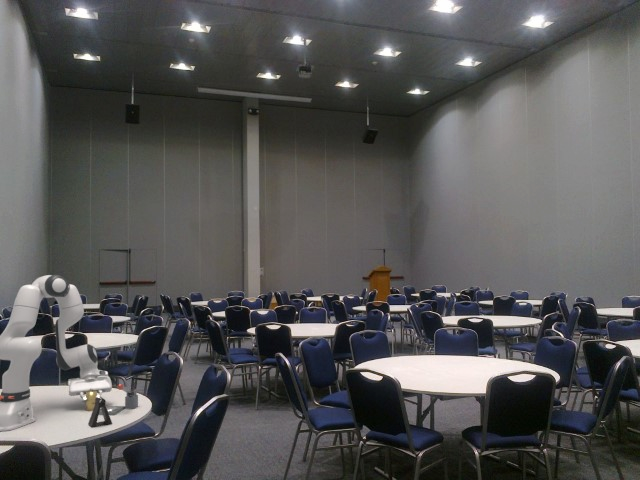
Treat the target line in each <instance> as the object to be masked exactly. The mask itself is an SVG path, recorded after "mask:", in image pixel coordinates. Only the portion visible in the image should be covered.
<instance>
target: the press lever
mask: <svg viewBox="0 0 640 480" xmlns="http://www.w3.org/2000/svg"><path fill="white" fill-rule="evenodd" d="M117 389H118V390H121V391H123V392H125V393H126V394H127V393H128V394H129V395H134V390H131V389H130V390H129V388H128V387H126V386H124V384H122V383H119V384H118V385H117Z"/></svg>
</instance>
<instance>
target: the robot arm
mask: <svg viewBox="0 0 640 480" xmlns="http://www.w3.org/2000/svg"><path fill="white" fill-rule="evenodd" d="M44 298H45V299H47V298H48V299H50V298H54V299H55V301H56V302H57V305H58V310H59V317H58V318H57V319H56V321H55V326H54V327H55V333H54V334H55V346H56V347H55V348H56V359H55V361H56V365H57V367H58V368H59V369H61V370H64V371H68V370H71V369H73V368H76V367H79V369H80V370H79V377H76V378H73V377H72V378H70V379H68V381H67V386H68V395H69V396H70V397H74V396H80V398H81V400H82V402H83V403H86V392H87V391H90V388H93V391H97V397H99V398H100V397H102V394H103V393H109V392H111V391H112V389H113V384H112V380H111V377H110V376H109V372H108V371H107V370H101V369H98V364H99V362H98V359H99V358H98V351H97V349H96V347H95V346H94V345H92V344H90V343H87V344H83V345H79V346H75V347H72V348H67V346H66V331H67V330H68V329H69V328H71V327H72V326H74V325H75V324H77V322H79V321H80V320H81V319H82V318H83V316H84V314H85V313H84V312H85V309H84V305H83V300H82V298H81V295H80V293H79V290H78V288H77V286H75V285H74V284H70V283H69V282H68V281H67V279H66V278H65V277H63V276H61V275H59V274H53V275H51V274H48V275H43V276H38V277H36V278H35V279H34V280H33V281H32V282H31V283H30V284H25V285H22V286H21V287H20V288H19V289H18V292H17V294H16V296H15V299H14V303H13V307H12V310H11V314H10V317H9V321H8V323H7V325H6V327H5V329H4V330H3V331H2V333H1V334H0V360H2V361H10V364H9V367H8V369H7V370H6V371H4V373H3V374H2V377H1V378H2V380H1V384H2V385H1V387H2V389H1V392H0V432H5V431H6V432H7V431H13V430H15V429H18V428H22V427H23V426H26V425H29V424H31V423H33V422H36V418H35V417H34V411H33V410H34V409H33V402H32V401H31V400H30V397H31V389H30V377H31V376H30V374H31V373H30V372H31V371H32V370H31V369H32V367H33V364H34V362H35V361H36V360H37V359H38V358H39V357H40V355H41V354H42V351H43V350H42V349H43V347H42V343H41V342H40V341H39V340H37V339H35V338H33V337H32V338H31V337H28V336H26V335H27V333H28V332H29V331H30V330H32V329H33V328H34V327H35V325H36V324H37V323H36V322H37V318H38V314H39V310H40V306H41V303H42V300H43V299H44ZM100 399H101V398H100Z"/></svg>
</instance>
